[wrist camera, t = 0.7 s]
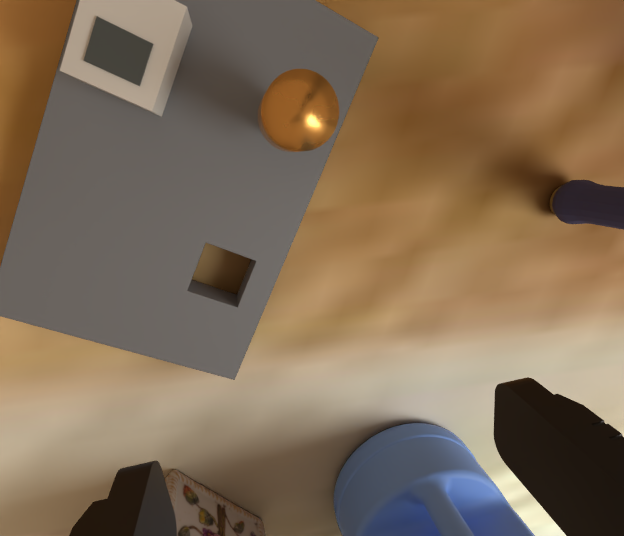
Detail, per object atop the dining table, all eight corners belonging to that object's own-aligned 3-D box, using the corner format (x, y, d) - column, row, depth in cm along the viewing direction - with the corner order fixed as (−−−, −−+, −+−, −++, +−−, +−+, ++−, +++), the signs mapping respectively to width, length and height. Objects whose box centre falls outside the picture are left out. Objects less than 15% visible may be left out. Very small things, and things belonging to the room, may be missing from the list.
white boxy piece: (111, -16, 24) (91, -45, 21) (192, 25, 26) (186, 5, 22) (82, 81, 25) (58, 69, 22) (161, 116, 27) (151, 111, 23)
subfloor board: (124, -89, 26) (111, -120, 23) (364, 48, 31) (378, 37, 28) (9, 298, 31) (-13, 312, 28) (234, 362, 36) (234, 379, 33)
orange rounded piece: (266, 81, 27) (280, 53, 20) (319, 108, 28) (351, 90, 21) (245, 138, 28) (251, 131, 20) (297, 161, 29) (320, 163, 22)
